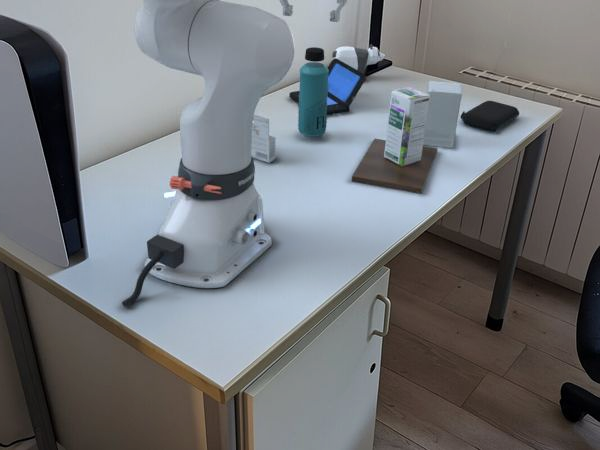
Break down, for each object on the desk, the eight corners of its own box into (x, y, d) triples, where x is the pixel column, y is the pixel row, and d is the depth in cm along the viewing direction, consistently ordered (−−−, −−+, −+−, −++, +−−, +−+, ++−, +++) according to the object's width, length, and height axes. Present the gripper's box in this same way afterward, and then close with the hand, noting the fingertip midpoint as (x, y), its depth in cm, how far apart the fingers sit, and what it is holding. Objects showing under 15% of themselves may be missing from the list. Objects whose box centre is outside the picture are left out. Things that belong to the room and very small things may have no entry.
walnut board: (421, 193, 131) (422, 188, 130) (351, 181, 135) (352, 176, 134) (437, 153, 147) (437, 148, 147) (374, 143, 151) (374, 138, 150)
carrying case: (480, 107, 172) (453, 123, 162) (482, 96, 171) (455, 111, 161) (520, 118, 167) (494, 135, 157) (523, 106, 165) (497, 123, 155)
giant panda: (331, 81, 186) (333, 47, 181) (329, 75, 190) (331, 41, 185) (384, 82, 187) (387, 47, 182) (381, 75, 191) (384, 42, 186)
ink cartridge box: (234, 146, 147) (233, 103, 142) (275, 159, 142) (276, 116, 137) (227, 150, 145) (226, 106, 140) (268, 163, 140) (269, 119, 135)
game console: (287, 97, 174) (287, 63, 169) (332, 90, 180) (334, 56, 175) (316, 118, 162) (318, 82, 158) (364, 110, 168) (367, 74, 163)
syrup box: (382, 157, 142) (389, 90, 134) (403, 150, 145) (410, 85, 138) (401, 167, 138) (410, 99, 131) (422, 160, 141) (431, 93, 134)
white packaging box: (453, 148, 150) (462, 94, 143) (419, 145, 151) (427, 90, 144) (453, 135, 156) (462, 82, 149) (421, 132, 157) (428, 79, 151)
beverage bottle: (316, 145, 149) (320, 55, 139) (291, 137, 152) (293, 49, 142) (331, 135, 154) (336, 48, 143) (307, 128, 157) (310, 42, 147)
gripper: (254, -63, 122) (254, 15, 129) (364, -53, 117) (357, 28, 124) (267, -67, 127) (266, 8, 134) (373, -58, 122) (366, 20, 129)
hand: (311, 18), depth 129 cm, fingers open, 8 cm apart
